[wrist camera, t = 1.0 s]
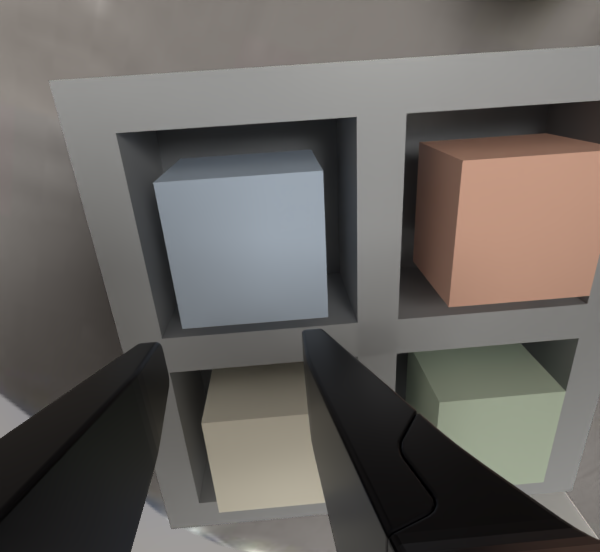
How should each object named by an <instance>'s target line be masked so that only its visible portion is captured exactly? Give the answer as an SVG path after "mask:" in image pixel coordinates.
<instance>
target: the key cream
mask: <svg viewBox="0 0 600 552" xmlns="http://www.w3.org/2000/svg"><path fill="white" fill-rule="evenodd" d="M201 425H202V430H203V435H204V440H205V445H206V450H207V455H208V460H209V465H210V470H211V475H212V480H213V485H214V490H215V495H216V500H217V505H218V510H219V513H222V512H232V511H243V510H254V509H264V508H275V507H286V506H296V505H307V504H317V503H325V499H324V495H323V490H322V486H321V482H320V477H319V473H318V469H317V464H316V460H315V456H314V451H313V446H312V441H311V434H310V426H309V415H308V405H307V395H306V384H305V374H304V361H302V362H291V363H279V364H267V365H255V366H243V367H231V368H219V369H212V373H211V378H210V383H209V388H208V393H207V398H206V403H205V407H204V412H203V417H202V422H201Z"/></svg>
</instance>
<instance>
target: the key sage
mask: <svg viewBox="0 0 600 552" xmlns="http://www.w3.org/2000/svg"><path fill="white" fill-rule="evenodd" d="M565 393H566V391H565V390H564V389H563V388H562V387H561V386H560V385H559V384H558V382H557V381H556V380H555V379H554V378H553V377H552V376H551V375H550V374H549V373H548V372H547V371H546V370H545V369H544V368H543V367H542V365H541V364H540V363H539V362H538V361H537V360H536V359H535V358H534V357H533V356H532V355H531V354H530V353H529V352H528V351H527V349H526V348H525V347H524V346H523V345H522V344H521V343H516V344H504V345H492V346H481V347H469V348H457V349H445V350H433V351H421V352H409V353H408V362H407V380H406V399H405V401H406V402H407V403H408V404H409V405H411V406H412V407H413V408H414V409H415V410H416V411H417V412H418V413H419V414H421V415H422V416H424V417H425V418H426V419H427V420H428V421H429V422H431V423H432V424H433V425H434V426H435V427H436V428H438V429H439V430H440V431H441V432H443V433H444V434H445V435H446V436H447V437H449V438H450V439H451V440H452V441H454V442H455V443H456V444H457V445H459V446H460V447H461V448H463V449H464V450H465V451H467V452H468V453H470V454H471V455H472V456H474V457H475V458H476V459H478V460H479V461H480V462H482V463H483V464H485V465H486V466H487V467H489V468H490V469H492V470H493V471H495V472H496V473H497V474H499V475H500V476H502V477H503V478H505V479H506V480H507V481H509V482H510V483H512V484H513V485H519V484H530V483H541V482H544V478H545V474H546V470H547V466H548V462H549V458H550V454H551V450H552V446H553V442H554V438H555V434H556V430H557V425H558V421H559V417H560V413H561V409H562V405H563V401H564V397H565Z"/></svg>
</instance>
